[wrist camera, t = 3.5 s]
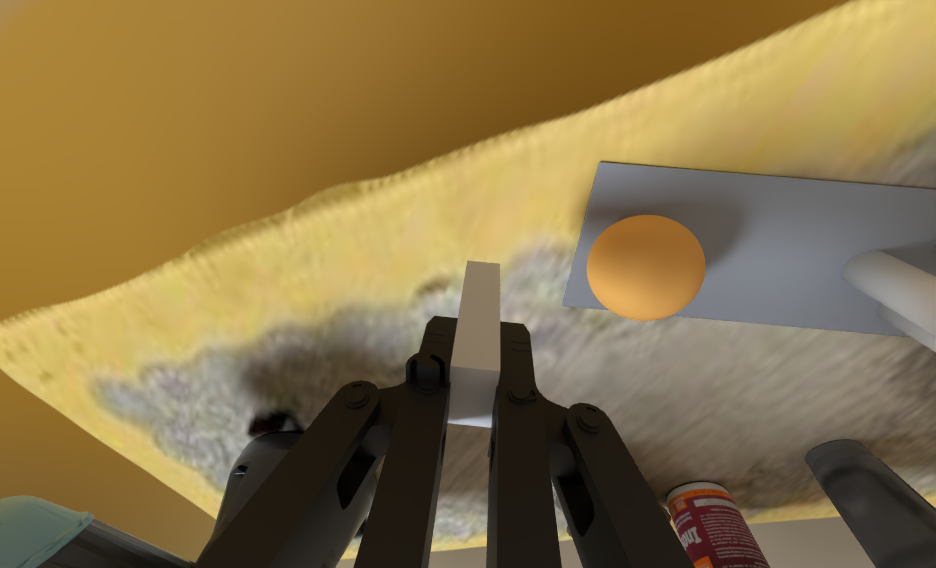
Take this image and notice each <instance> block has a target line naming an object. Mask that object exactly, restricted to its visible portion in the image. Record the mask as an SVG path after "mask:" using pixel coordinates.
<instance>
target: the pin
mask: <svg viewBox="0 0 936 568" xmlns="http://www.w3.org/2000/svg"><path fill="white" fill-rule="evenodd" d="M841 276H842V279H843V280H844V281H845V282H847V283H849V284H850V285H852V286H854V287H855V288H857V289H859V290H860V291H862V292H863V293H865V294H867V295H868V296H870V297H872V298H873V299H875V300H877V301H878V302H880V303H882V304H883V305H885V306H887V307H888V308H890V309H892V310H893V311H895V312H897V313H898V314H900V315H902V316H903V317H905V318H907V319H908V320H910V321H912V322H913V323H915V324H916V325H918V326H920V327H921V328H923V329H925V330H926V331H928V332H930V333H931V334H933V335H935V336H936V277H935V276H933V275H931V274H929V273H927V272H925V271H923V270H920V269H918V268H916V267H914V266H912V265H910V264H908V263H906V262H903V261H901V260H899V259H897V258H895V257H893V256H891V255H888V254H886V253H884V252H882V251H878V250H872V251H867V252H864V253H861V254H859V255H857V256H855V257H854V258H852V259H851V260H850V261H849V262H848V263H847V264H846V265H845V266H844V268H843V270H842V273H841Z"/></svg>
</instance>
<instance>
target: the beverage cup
mask: <svg viewBox="0 0 936 568" xmlns="http://www.w3.org/2000/svg"><path fill="white" fill-rule="evenodd" d="M805 462H806V463H807V464H808V465H809V467H810V468H811V470H812V472H813V474H814V475H815V477H816V479H817V481H818V482H819V484H820V485H821V487H822V488H823V490H824V491H825V493H826V494H827V496H828V497H829V499H830V500H831V502H832V503H833V505H834V506H835V507H836V509H837V510H838V512H839V513H840V515H841V516H842V518H843V519H844V521H845V522H846V524H847V525H848V527H849V528H850V530H851V531H852V533H853V534H854V535H855V537H856V538H857V540H858V541H859V543H860V544H861V546H862V547H863V549H864V550H865V552H866V553H867V555H868V556H869V558H870V559H871V561H872V562H873V564H874V565H875V566H876V568H936V509H935V508H934V507H933V506H932V505H931V504H930V503H929V502H927V501H926V500H925V499H924V498H923V497H922V496H921V495H920V494H918V493H917V492H916V491H915V490H914V489H913V488H912V487H910V486H909V485H908V484H907V483H906V482H905V481H904V480H903V479H901V478H900V477H899V476H898V475H897V474H896V473H895V472H894V471H892V470H891V469H890V468H889V467H888V466H887V465H886V464H884V463H883V462H882V461H881V460H880V459H878V458H877V457H875V456H874V455H873V454H872V453H871V452H869V451H868V450H866V448H865V447H864V446H863V445H862V444H860V443H858V442H856V441H852V440H837V441H831V442H828V443H825V444H822V445H820V446H818V447H816V448H814V449H813V450H811V451H810V452H809V453H808V454H807V456H806V458H805Z"/></svg>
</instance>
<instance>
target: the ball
mask: <svg viewBox="0 0 936 568" xmlns="http://www.w3.org/2000/svg"><path fill="white" fill-rule="evenodd" d="M705 269H706V264H705V257H704V253H703V250H702V248H701V245H700V244H699V242H698V240H697V239H696V237H695V236H694V235H693V234H692V233H691V232H690V231H689V230H688V229H687V228H686V227H684V226H683V225H681V224H680V223H678V222H676V221H674V220H672V219H669V218H666V217H663V216H657V215H637V216H633V217H629V218H626V219H623V220H620V221H618V222H616V223H615V224H613V225H611V226H610V227H608V228H607V229H606V230H605V231H604V232H603V233H602V234H601V235H600V236H599V237H598V238H597V240H596V241H595V243H594V244H593V246H592V248H591V250H590V253H589V256H588V261H587V278H588V281H589V285H590V287H591V290H592V292H593V293H594V295H595V296H596V298H597V299H598V300H599V301H600V302H601V303H602V304H603V306H605V307H606V308H607V309H609V310H610V311H611V312H613V313H615V314H617V315H619V316H622V317H624V318H628V319H632V320H639V321H651V320H658V319H662V318H666V317H669V316H671V315H673V314H675V313H677V312H679V311H680V310H682V309H683V308H685V307H686V306H687V305H688V304H689V303H690V302H691V301H692V300H693V299H694V298H695V296H696V295H697V294H698V292H699V290H700V288H701V286H702V283H703V281H704V277H705Z"/></svg>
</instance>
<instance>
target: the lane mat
mask: <svg viewBox="0 0 936 568" xmlns="http://www.w3.org/2000/svg"><path fill="white" fill-rule="evenodd" d="M637 215H657V216H663V217H666V218H669V219H672V220H674V221H676V222H678V223H680V224H681V225H683V226H684V227H686V228H687V229H688V230H689V231H690V232H691V233H692V234H693V235H694V236H695V237H696V239H697V240H698V242H699V244H700V245H701V248H702V250H703V253H704V257H705V264H706V269H705V277H704V281H703V283H702V286H701V288H700V290H699V292H698V294H697V295H696V296H695V298H694V299H693V300H692V301H691V302H690V303H689V304H688V305H687V306H686V307H685V308H683V309H682V310H680V311H679V312H677V313H675V314H673V315H671V316H680V317H691V318H703V319H714V320H725V321H736V322H747V323H758V324H770V325H781V326H792V327H803V328H814V329H825V330H837V331H848V332H859V333H870V334H881V335H892V336H904V337H911V336H909V335H907V334H906V333H904V332H903V331H901V330H900V329H898V328H896V327H895V326H893V325H892V324H890V323H889V322H887V321H886V320H884V319H882V318H881V317H880V316H879V315H878V308H879V306H880V305H881V303H880V302H878V301H877V300H875V299H873V298H872V297H870V296H868V295H867V294H865V293H863V292H862V291H860V290H859V289H857V288H855V287H854V286H852V285H850V284H849V283H847V282H845V281H844V280H843V279H842V276H841V273H842V270H843V268H844V266H845V265H846V264H847V263H848V262H849V261H850V260H851V259H852V258H854V257H855V256H857V255H859V254H861V253H864V252H867V251H872V250H878V251H882V252H884V253H886V254H888V255H891V256H893V257H895V258H897V259H899V260H901V261H903V262H906V263H908V264H910V265H912V266H914V267H916V268H918V269H920V270H923V271H925V272H927V273H929V274H931V275H933V276H935V277H936V249H935V243H936V189H926V188H914V187H902V186H890V185H877V184H865V183H853V182H841V181H829V180H816V179H804V178H792V177H780V176H768V175H755V174H743V173H731V172H719V171H707V170H695V169H682V168H670V167H658V166H646V165H634V164H621V163H609V162H599V164H598V168H597V172H596V176H595V180H594V184H593V188H592V192H591V195H590V199H589V203H588V207H587V211H586V215H585V219H584V223H583V226H582V230H581V234H580V238H579V242H578V246H577V250H576V254H575V257H574V261H573V265H572V269H571V273H570V277H569V281H568V284H567V288H566V292H565V296H564V300H563V304H562V305H563V306H568V307H580V308H591V309H602V310H609V309H607V308H606V307H605V306H603V304H602V303H601V302H600V301H599V300H598V299H597V298H596V296H595V295H594V293H593V292H592V290H591V287H590V285H589V281H588V278H587V261H588V256H589V253H590V250H591V248H592V246H593V244H594V243H595V241H596V240H597V238H598V237H599V236H600V235H601V234H602V233H603V232H604V231H605V230H606V229H607V228H608V227H610V226H611V225H613V224H615V223H616V222H618V221H620V220H623V219H626V218H629V217H633V216H637Z"/></svg>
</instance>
